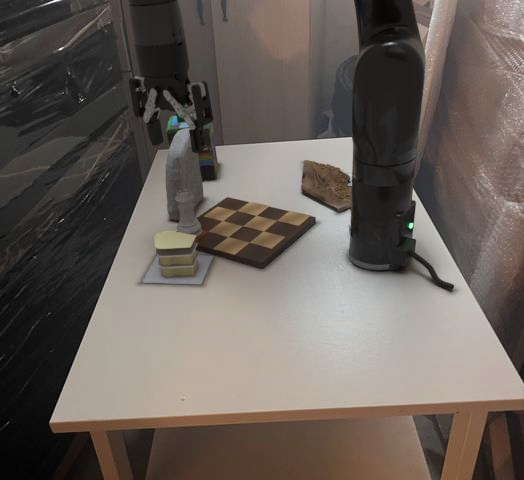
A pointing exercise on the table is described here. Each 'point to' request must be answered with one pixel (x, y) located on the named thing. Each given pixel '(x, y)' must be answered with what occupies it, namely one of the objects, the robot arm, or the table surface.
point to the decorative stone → (182, 172)
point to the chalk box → (205, 156)
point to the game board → (249, 231)
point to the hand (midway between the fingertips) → (178, 147)
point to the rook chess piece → (187, 214)
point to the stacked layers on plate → (177, 260)
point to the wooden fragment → (327, 184)
